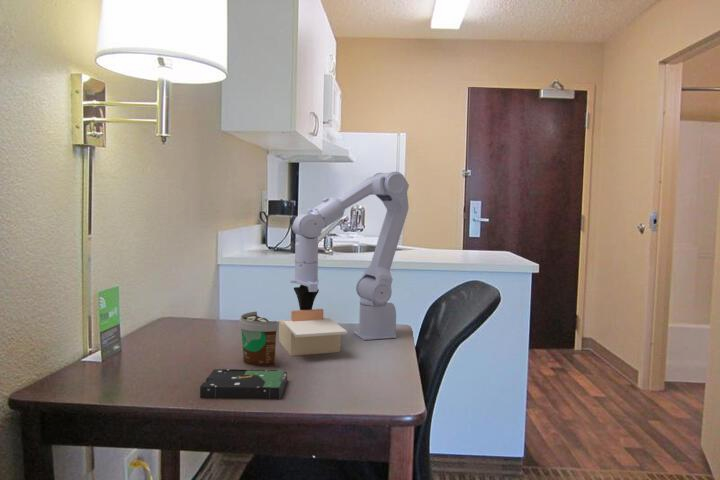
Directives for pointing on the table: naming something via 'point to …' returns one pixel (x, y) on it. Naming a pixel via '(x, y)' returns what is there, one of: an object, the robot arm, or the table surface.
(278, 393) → the disk drive
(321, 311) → the lid
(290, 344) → the mailer box
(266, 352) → the food container
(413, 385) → the table surface
